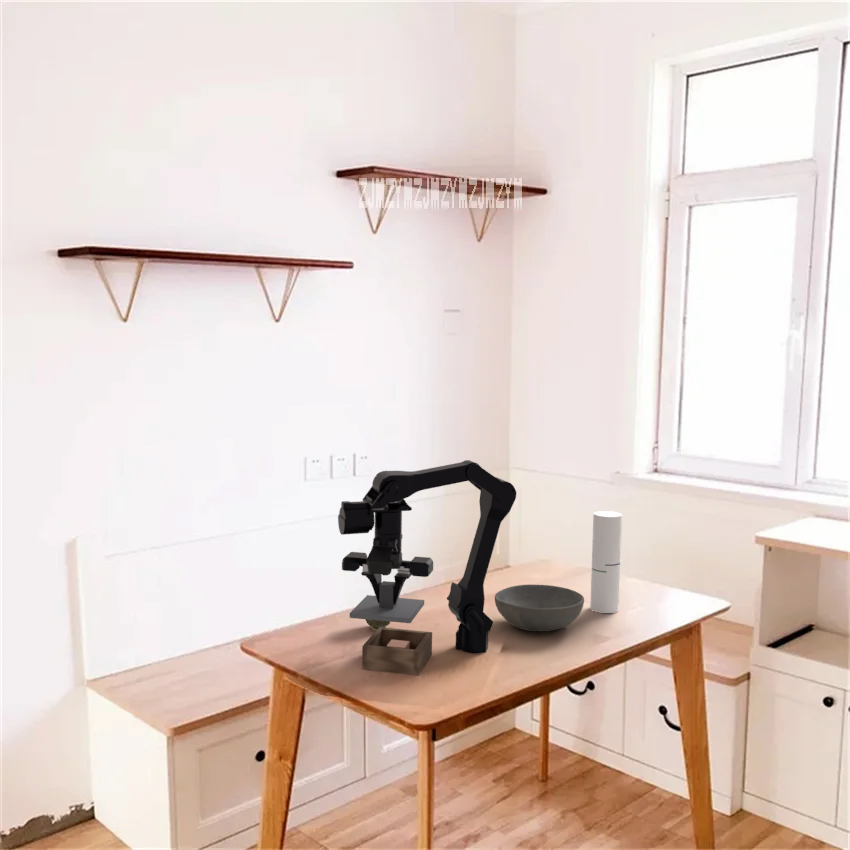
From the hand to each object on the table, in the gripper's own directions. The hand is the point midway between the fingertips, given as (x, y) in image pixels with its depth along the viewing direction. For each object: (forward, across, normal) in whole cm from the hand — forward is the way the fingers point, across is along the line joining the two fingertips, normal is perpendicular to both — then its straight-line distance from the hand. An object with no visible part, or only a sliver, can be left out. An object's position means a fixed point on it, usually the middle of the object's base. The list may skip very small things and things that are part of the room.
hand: (387, 603), depth 188 cm
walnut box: (+13, +3, -1) cm, 13 cm away
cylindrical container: (+13, +45, +49) cm, 68 cm away
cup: (+13, -7, +18) cm, 23 cm away
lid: (+2, 0, 0) cm, 2 cm away
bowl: (+13, +29, +31) cm, 45 cm away
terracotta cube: (+12, +3, -1) cm, 12 cm away
